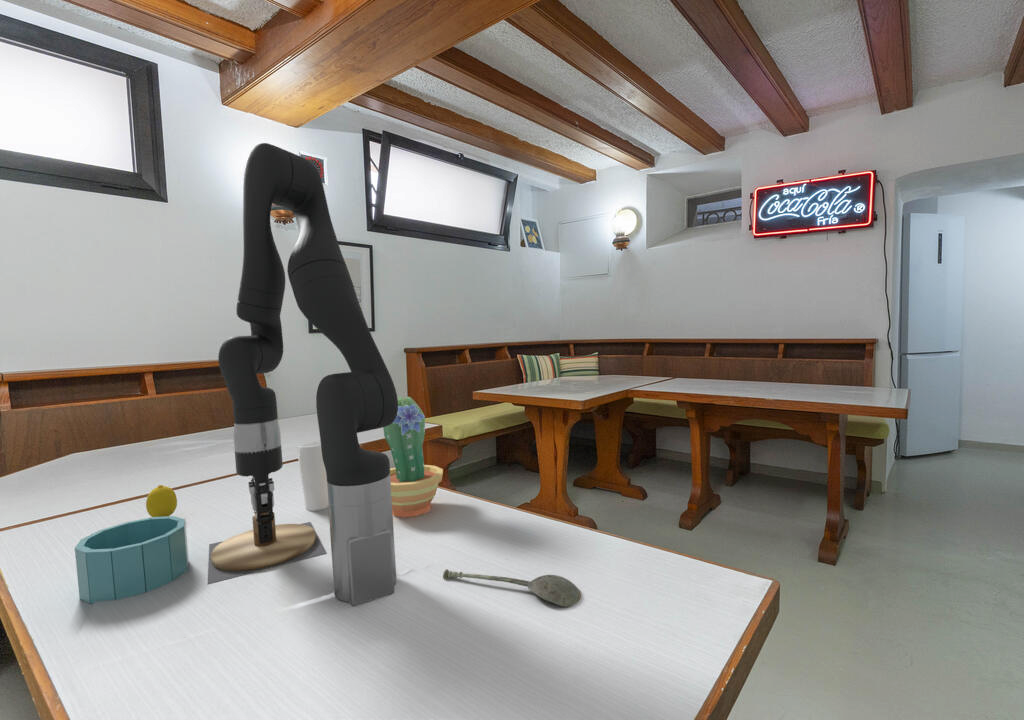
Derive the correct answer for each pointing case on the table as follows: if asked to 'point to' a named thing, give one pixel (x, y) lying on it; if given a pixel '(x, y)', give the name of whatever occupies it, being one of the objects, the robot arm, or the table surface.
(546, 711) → the table surface
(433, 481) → the potted cactus
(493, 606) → the table surface
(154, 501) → the lemon
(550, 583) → the soupspoon
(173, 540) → the bowl
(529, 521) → the table surface
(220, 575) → the mat
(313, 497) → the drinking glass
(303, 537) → the lid
